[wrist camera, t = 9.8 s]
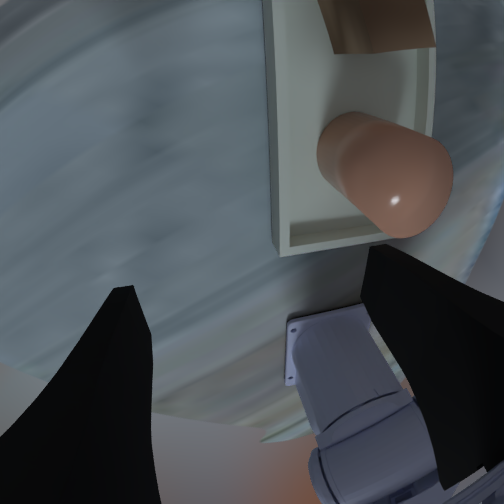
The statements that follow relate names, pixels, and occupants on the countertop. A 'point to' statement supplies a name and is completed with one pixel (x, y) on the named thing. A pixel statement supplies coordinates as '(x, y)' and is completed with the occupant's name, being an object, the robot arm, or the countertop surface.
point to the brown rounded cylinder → (386, 171)
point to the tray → (329, 119)
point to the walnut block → (377, 25)
